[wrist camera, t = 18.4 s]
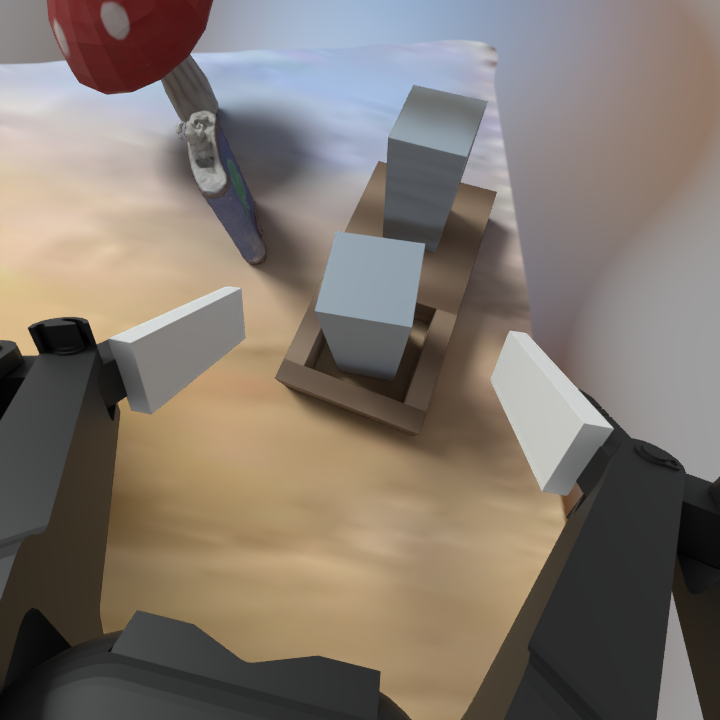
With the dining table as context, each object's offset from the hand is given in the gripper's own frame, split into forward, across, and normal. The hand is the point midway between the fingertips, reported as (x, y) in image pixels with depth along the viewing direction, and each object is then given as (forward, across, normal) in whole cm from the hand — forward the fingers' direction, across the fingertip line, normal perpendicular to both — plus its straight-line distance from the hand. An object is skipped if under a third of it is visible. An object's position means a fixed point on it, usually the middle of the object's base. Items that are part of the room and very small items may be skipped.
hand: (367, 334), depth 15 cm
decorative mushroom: (+29, -27, +12) cm, 41 cm away
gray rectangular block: (+11, 0, -6) cm, 12 cm away
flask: (+19, -15, +1) cm, 24 cm away
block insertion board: (+15, +1, -2) cm, 15 cm away
